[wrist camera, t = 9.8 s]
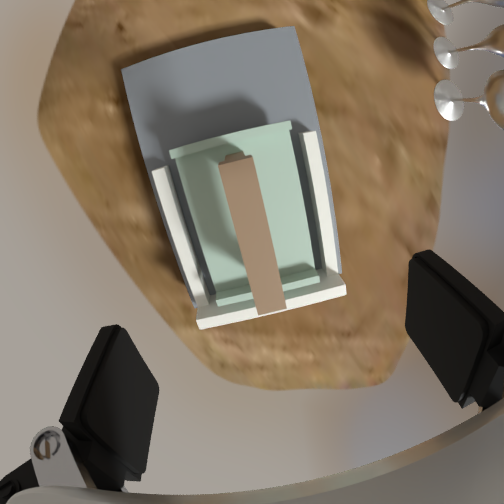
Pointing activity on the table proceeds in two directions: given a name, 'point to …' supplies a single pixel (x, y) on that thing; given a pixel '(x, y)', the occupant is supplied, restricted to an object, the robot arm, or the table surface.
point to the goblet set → (446, 92)
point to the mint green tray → (249, 214)
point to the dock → (224, 122)
